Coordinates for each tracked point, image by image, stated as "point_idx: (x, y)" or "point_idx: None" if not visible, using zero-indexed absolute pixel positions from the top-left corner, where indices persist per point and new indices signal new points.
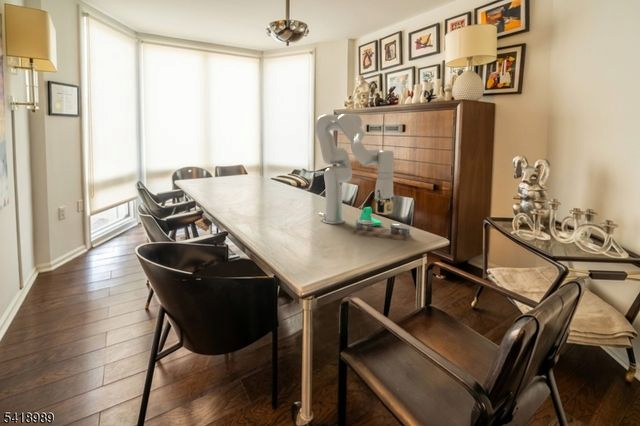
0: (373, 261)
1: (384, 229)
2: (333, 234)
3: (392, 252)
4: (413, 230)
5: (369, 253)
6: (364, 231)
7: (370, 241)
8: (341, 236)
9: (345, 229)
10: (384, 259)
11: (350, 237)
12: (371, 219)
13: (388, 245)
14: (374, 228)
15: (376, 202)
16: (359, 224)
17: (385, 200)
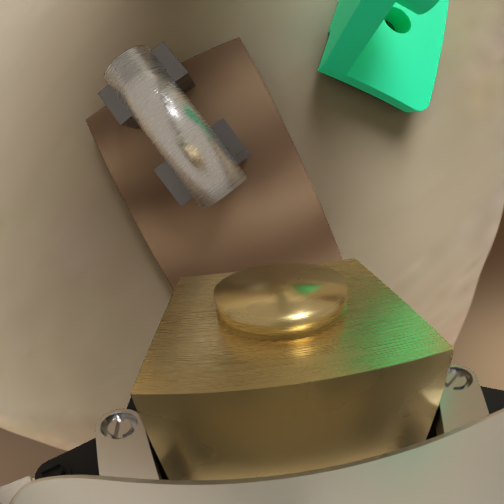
0: (2, 423)
1: (307, 233)
2: (6, 75)
3: (86, 437)
4: (454, 309)
5: (10, 389)
6: (133, 176)
7: (78, 307)
8: (9, 132)
9: (131, 9)
10: (34, 439)
11: (30, 178)
12: (361, 51)
13: (121, 397)
14: (267, 161)
15: (141, 386)
16: (115, 114)
17: (386, 442)
